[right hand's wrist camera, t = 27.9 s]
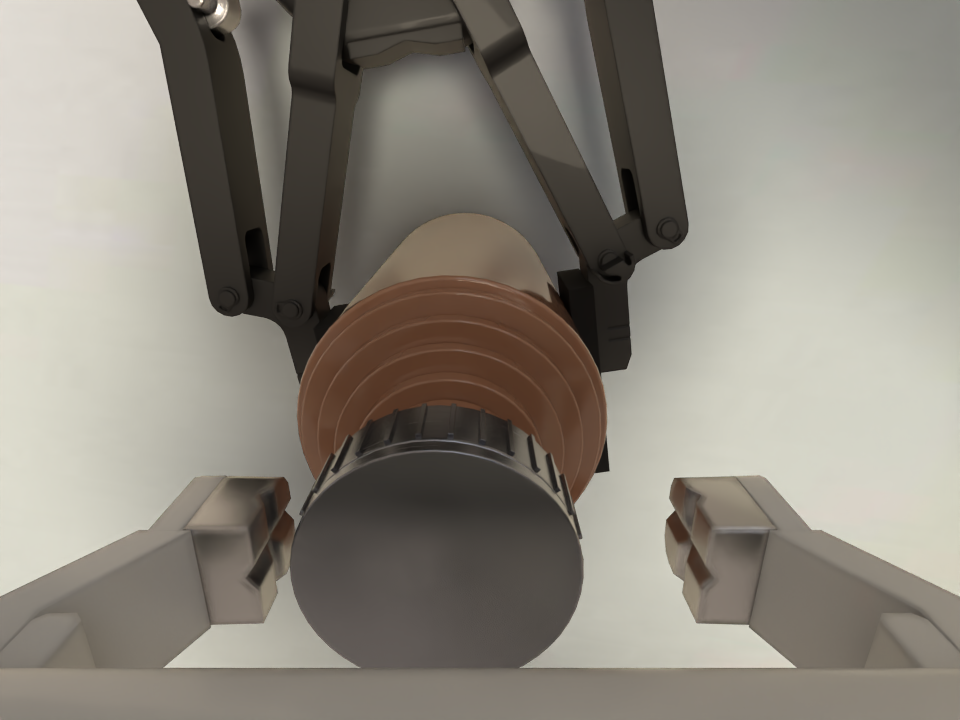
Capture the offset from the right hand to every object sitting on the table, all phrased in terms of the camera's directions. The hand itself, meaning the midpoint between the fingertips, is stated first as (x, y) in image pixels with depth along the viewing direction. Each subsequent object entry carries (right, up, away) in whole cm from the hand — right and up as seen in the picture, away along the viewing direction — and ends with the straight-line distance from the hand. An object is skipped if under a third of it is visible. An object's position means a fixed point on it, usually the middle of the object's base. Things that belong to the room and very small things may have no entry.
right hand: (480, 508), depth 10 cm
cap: (-1, -1, -1) cm, 2 cm away
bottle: (-1, +5, +15) cm, 16 cm away
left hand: (0, -1, +11) cm, 11 cm away
